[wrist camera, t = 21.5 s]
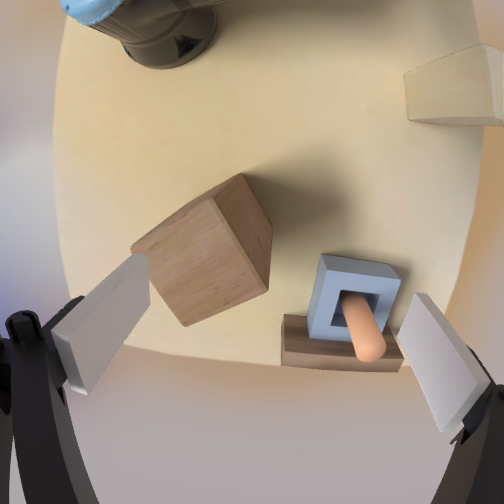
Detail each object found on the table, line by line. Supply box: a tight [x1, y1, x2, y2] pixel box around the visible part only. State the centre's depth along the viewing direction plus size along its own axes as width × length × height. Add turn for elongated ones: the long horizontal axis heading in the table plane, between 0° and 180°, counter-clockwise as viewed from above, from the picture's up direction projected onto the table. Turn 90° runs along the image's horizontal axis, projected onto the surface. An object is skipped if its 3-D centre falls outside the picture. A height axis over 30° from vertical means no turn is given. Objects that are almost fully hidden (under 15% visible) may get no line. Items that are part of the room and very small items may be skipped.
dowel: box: [339, 290, 386, 362], centre depth 39 cm, size 4×4×14 cm
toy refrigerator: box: [404, 44, 504, 127], centre depth 25 cm, size 8×7×21 cm
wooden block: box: [130, 173, 273, 327], centre depth 36 cm, size 10×10×20 cm
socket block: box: [307, 254, 401, 342], centre depth 45 cm, size 12×12×6 cm
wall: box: [281, 314, 404, 372], centre depth 46 cm, size 3×20×10 cm, turn 83°
